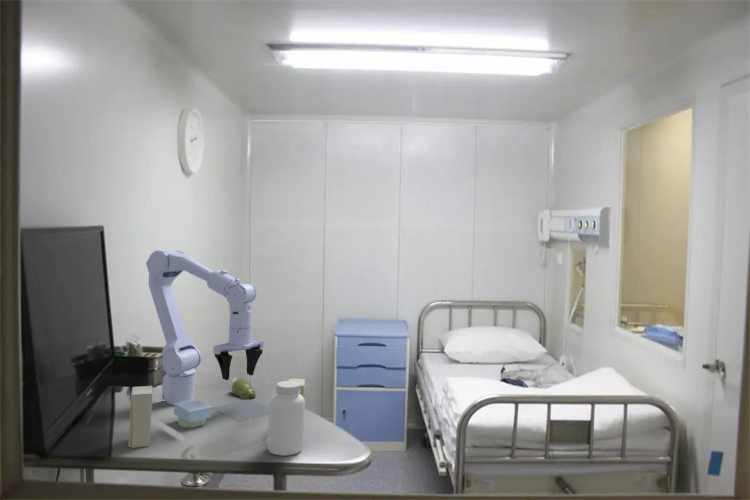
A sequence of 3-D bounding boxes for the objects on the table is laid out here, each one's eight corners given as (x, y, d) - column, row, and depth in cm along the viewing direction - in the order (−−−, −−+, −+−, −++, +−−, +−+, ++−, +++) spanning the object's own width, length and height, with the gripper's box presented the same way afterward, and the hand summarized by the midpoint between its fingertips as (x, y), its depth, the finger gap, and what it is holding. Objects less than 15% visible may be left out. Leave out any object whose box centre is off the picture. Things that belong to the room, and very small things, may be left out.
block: (173, 414, 122) (174, 403, 122) (195, 409, 126) (195, 399, 126) (189, 422, 116) (190, 411, 116) (211, 417, 120) (211, 406, 120)
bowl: (174, 427, 121) (174, 415, 121) (196, 421, 125) (197, 409, 125) (186, 433, 117) (186, 421, 117) (208, 427, 121) (209, 415, 121)
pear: (246, 375, 151) (261, 388, 143) (244, 391, 152) (259, 405, 144) (229, 377, 147) (243, 391, 140) (227, 394, 148) (241, 408, 140)
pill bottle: (295, 458, 106) (298, 390, 106) (261, 454, 108) (264, 386, 108) (307, 444, 114) (310, 380, 114) (275, 440, 115) (278, 377, 115)
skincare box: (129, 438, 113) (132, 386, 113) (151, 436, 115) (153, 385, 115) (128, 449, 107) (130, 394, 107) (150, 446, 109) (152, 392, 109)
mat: (210, 412, 133) (210, 407, 133) (248, 403, 142) (248, 399, 142) (238, 426, 123) (239, 421, 123) (277, 415, 132) (277, 411, 132)
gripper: (224, 331, 125) (222, 384, 125) (270, 326, 136) (268, 375, 136) (210, 328, 130) (207, 378, 130) (256, 323, 140) (254, 370, 140)
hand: (238, 376), depth 133 cm, fingers open, 7 cm apart
